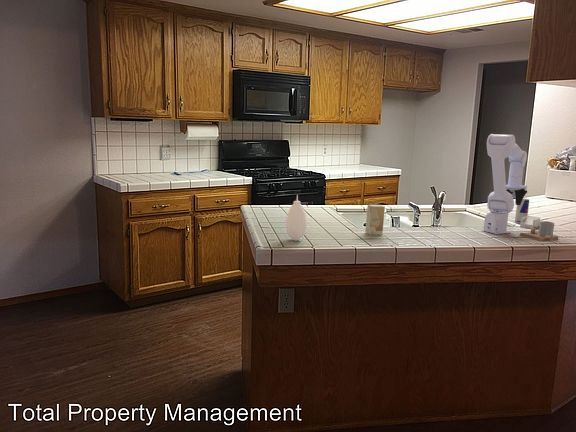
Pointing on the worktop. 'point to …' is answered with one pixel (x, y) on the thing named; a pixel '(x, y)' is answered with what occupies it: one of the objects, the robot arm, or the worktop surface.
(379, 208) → the skincare box
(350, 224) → the worktop surface
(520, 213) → the energy drink
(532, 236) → the pin block
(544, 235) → the sleeve
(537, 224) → the feeder chute
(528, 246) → the worktop surface
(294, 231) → the sauce bottle
